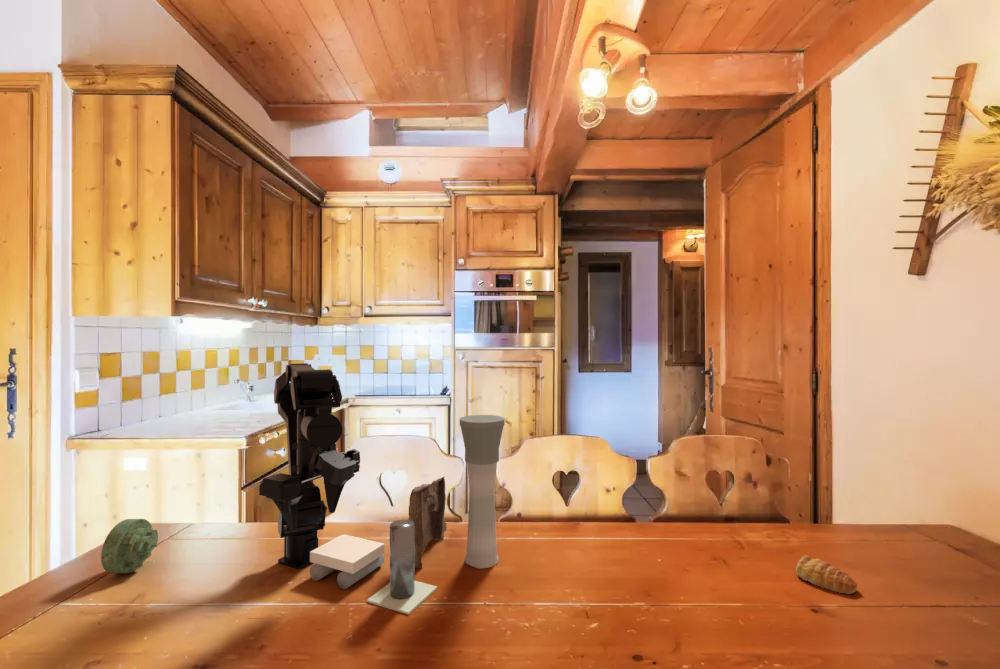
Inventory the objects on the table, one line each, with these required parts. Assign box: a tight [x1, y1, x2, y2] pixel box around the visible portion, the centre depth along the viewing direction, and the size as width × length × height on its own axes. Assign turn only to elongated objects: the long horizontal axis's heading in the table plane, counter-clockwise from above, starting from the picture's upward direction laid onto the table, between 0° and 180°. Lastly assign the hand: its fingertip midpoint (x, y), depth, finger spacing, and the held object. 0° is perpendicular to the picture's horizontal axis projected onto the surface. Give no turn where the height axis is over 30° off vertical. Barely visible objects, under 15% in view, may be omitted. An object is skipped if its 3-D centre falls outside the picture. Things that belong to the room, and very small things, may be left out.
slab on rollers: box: [309, 533, 385, 590], centre depth 92 cm, size 11×10×5 cm
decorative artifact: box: [100, 518, 159, 574], centre depth 93 cm, size 10×7×10 cm
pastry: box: [795, 554, 858, 595], centre depth 89 cm, size 9×7×4 cm
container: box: [459, 414, 505, 569], centre depth 98 cm, size 10×10×30 cm
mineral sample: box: [408, 476, 448, 569], centre depth 102 cm, size 17×4×15 cm, turn 168°
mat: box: [366, 580, 438, 616], centre depth 84 cm, size 9×9×1 cm
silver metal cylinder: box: [389, 519, 416, 600], centre depth 84 cm, size 4×4×12 cm
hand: (313, 521), depth 86 cm, fingers open, 9 cm apart
